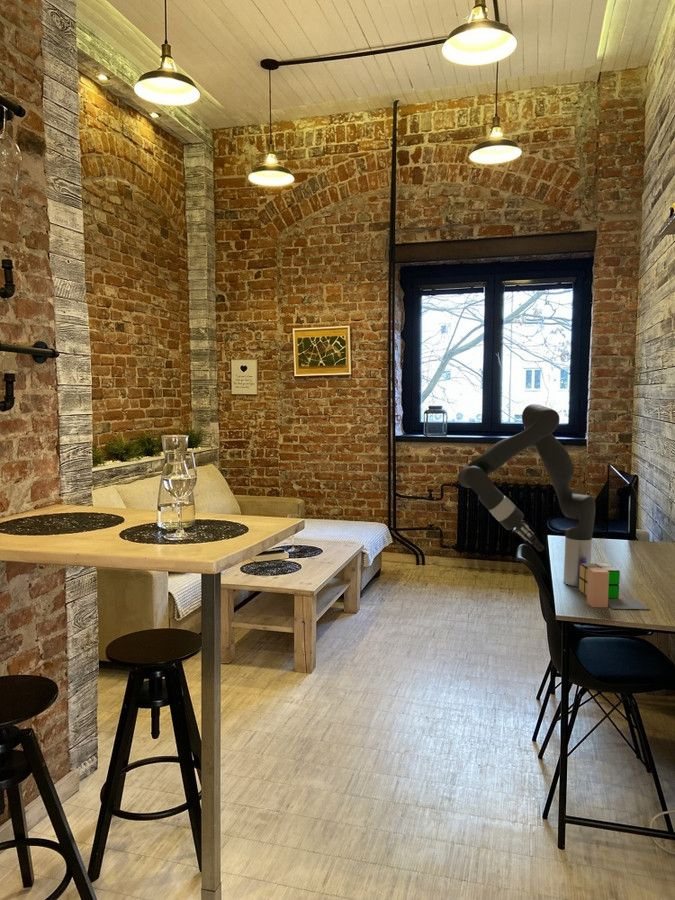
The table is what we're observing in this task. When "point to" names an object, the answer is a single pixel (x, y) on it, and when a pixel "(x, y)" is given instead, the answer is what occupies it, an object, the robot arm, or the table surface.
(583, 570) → the puzzle cube
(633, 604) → the mat
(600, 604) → the terracotta block
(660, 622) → the table surface
